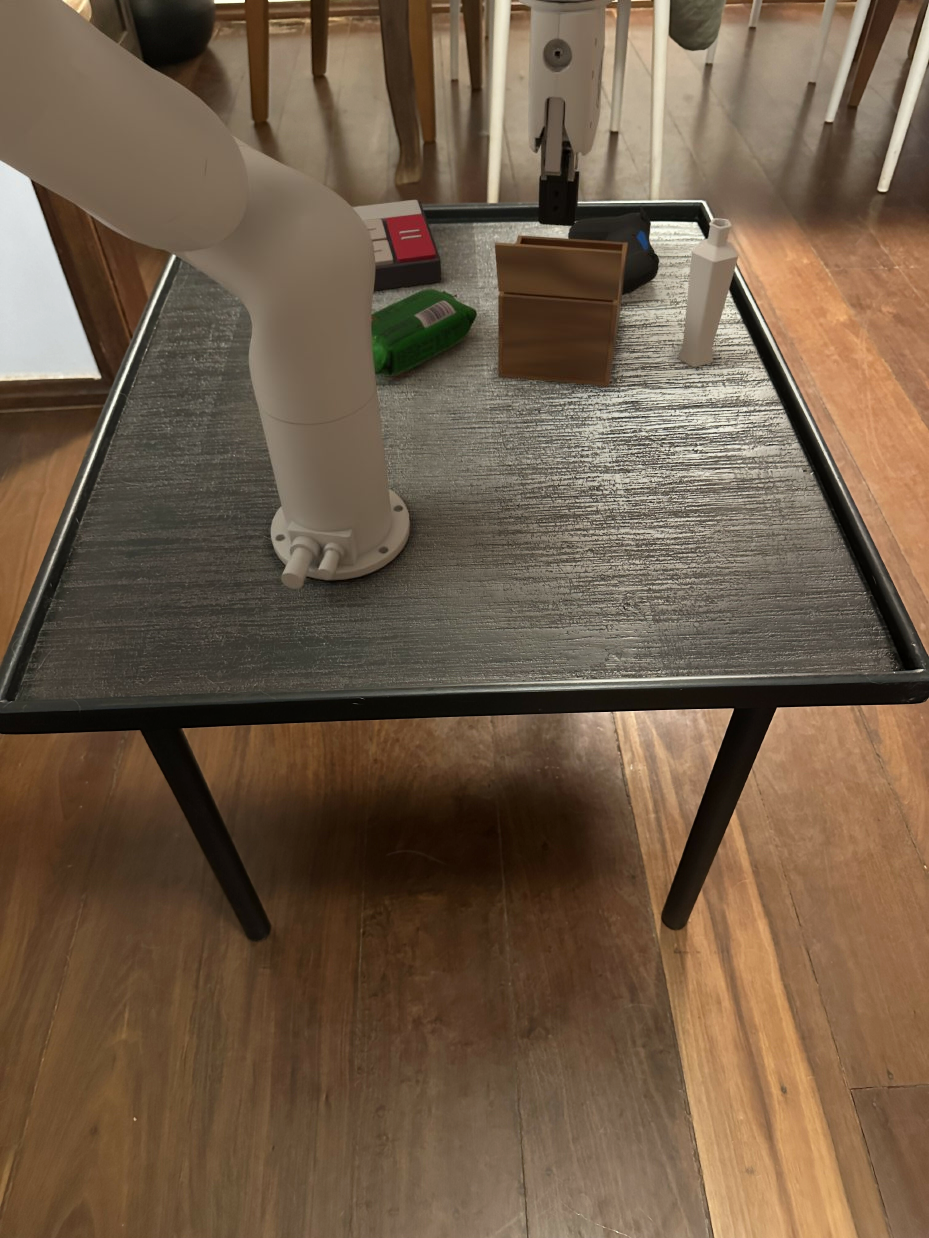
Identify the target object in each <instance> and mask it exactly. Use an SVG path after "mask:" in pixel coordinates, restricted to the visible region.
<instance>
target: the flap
mask: <svg viewBox="0 0 929 1238" xmlns="http://www.w3.org/2000/svg"><path fill="white" fill-rule="evenodd" d="M494 253H495V255H494V256H495V265H496V275H497V276H496V277H497V291H498V292H499V293H500V292H511V293H524V294H537V295H550V296H564V297H577V298H590V299H603V300H616V301H618V293H619V283H620V272H621V261H622V251H615V250H600V249H585V248H571V247H556V246H541V245H527V244H516V243H513V242H512V243H511V242H494Z"/></svg>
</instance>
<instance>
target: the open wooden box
mask: <svg viewBox="0 0 929 1238" xmlns="http://www.w3.org/2000/svg"><path fill="white" fill-rule="evenodd" d="M515 244H527V245H541V246H556V247H571V248H585V249H600V250H615V251H622V261H621V272H620V283H619V293H618V301H616V300H603V299H590V298H577V297H564V296H550V295H537V294H524V293H511V292H499V293H498V296H497V316H498V317H497V318H498V319H497V323H498V324H497V376H498V377H500V378H510V379H511V378H512V379H520V380H521V379H522V380H533V381H544V382H554V383H564V384H565V383H566V384H577V385H589V386H599V387H600V386H601V387H610V384H611V376H612V370H613V364H614V357H615V350H616V345H617V338H618V332H619V326H620V318H621V310H622V300H623V295H622V292H623V283H624V274H625V265H626V256H627V247H628V243H626V242H624V243H623V242H611V241H596V240H581V239H568V238H566V237H565V238H564V237H552V236H551V237H550V236H535V235H520V234H518V235H517V237H516V241H515Z"/></svg>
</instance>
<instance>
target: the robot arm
mask: <svg viewBox="0 0 929 1238" xmlns="http://www.w3.org/2000/svg"><path fill="white" fill-rule="evenodd" d="M517 1H518V2H519V3H520V4H522V5H524V6H527V7H529V8H530V23H529V41H528V42H529V51H528V52H529V54H528V57H529V58H528V62H529V63H528V105H527V107H528V109H527V110H528V145H529V149H530V150H531V151H532V152H533V153H535V154H538V152H539V150H540V175H539V179H538V209H537V210H538V213H537V214H538V215H537V220H538V221H537V222H538V223H539V224H540V225H542V226H543V225H544V226H557V227H558V226H561V227H571V226H573V225H574V224H575V222H576V221H577V220H576V219H577V215H578V206H579V205H578V204H579V190H580V189H579V188H580V173H581V172H580V171H579V170H578V168H579V156H580V153H581V156H582V157H583V156H587V155H588V154H589V153H590V152H591V150H592V148H593V145H594V141H595V138H596V134H597V129H598V126H599V121H600V115H601V109H602V107H601V106H602V83H603V82H602V79H603V64H604V63H603V62H604V48H605V47H604V45H605V24H606V6H608V5H610V4H612V3H613V2H614V1H616V0H517ZM0 162H2V163H4V164H5V165H7V166H9V167H11V168H12V169H14V170H16V171H17V172H19V173H20V174H22V175H24V176H25V177H27V178H28V179H30V180H32V181H33V182H35V183H37V184H39V185H40V186H42V187H44V188H46V189H47V190H49V191H51V192H53V193H55V194H56V195H58V196H59V197H62V198H64V199H65V200H67V201H69V202H71V203H73V204H74V205H75V206H77V207H79V208H80V209H82V210H83V211H84V212H86V213H87V214H88V215H90V216H91V217H93V218H94V219H95V220H97V221H98V222H100V223H101V224H102V225H104V226H106V227H107V228H109V229H110V230H112V231H114V232H115V233H117V234H119V235H121V236H123V237H125V238H127V239H129V240H131V241H133V242H136V243H139V244H142V245H145V246H147V247H149V248H153V249H158V250H163V251H166V252H167V253H170V254H172V255H174V256H175V257H177V258H178V259H180V260H182V261H184V262H185V263H187V264H189V265H190V266H192V267H193V268H194V269H196V270H198V271H200V272H201V273H203V274H204V275H206V276H207V277H209V278H210V279H211V280H213V281H215V282H216V283H217V284H219V286H221V287H222V288H223V289H225V290H226V292H228V293H230V294H231V295H232V296H234V297H235V298H237V299H238V300H239V301H240V302H241V303H242V304H243V306H244V307H245V308H246V310H247V312H248V314H249V316H250V321H251V336H250V342H249V349H248V367H249V375H250V380H251V385H252V388H253V393H254V398H255V401H256V404H257V408H258V412H259V413H258V414H259V417H260V421H261V425H262V429H263V433H264V438H265V442H266V446H267V451H268V456H269V458H270V459H269V460H270V463H271V467H272V472H273V476H274V480H275V484H276V489H277V492H278V497H279V502H280V505H281V506H280V507H279V508H278V509H277V510H276V511H275V514H274V517H273V518H272V520H271V525H270V540H271V544H272V546H273V550H274V552H275V554H276V556H277V557H278V559H279V560H280V561H281V562H282V563H283V564H284V565H285V567H284V569H283V572H282V574H281V575H280V580H281V581H280V582H281V583H282V584H283V585H284V586H285V587H287V588H289V589H292V590H299V589H301V588H302V587H303V586H304V583H305V581H306V579H307V577H308V578H312V579H316V580H324V581H339V580H343V581H344V580H349V579H350V580H351V579H354V578H355V579H356V578H359V577H362V576H366V575H368V574H371V573H374V572H376V571H378V570H380V569H381V568H383V567H385V566H386V565H388V564H389V563H390V562H392V561H394V559H395V558H396V557H397V556H398V555H399V554H400V553H401V552H402V551H403V549H404V548H405V546H406V544H407V543H408V539H409V537H410V531H411V522H410V513H409V510H408V508H407V505H406V503H405V502H404V501H403V499H402V498H401V497H400V496H399V495H398V494H397V493H396V492H395V491H394V490H392V489H390V488H389V480H388V479H389V478H388V471H387V461H386V454H385V445H384V437H383V428H382V419H381V412H380V410H381V409H380V403H379V401H380V400H379V393H378V392H379V391H378V386H377V385H378V384H377V378H376V374H375V369H374V359H373V349H372V332H371V315H372V314H373V301H374V300H373V299H374V291H375V290H374V282H375V253H374V246H373V242H372V239H371V236H370V234H369V232H368V229H367V227H366V225H365V224H364V222H363V220H362V219H361V217H360V216H359V215H358V213H357V212H356V211H355V210H354V209H353V208H352V207H353V206H351V205H350V204H349V203H348V201H347V200H346V199H344V198H343V197H342V196H340V194H338V193H337V192H335V191H334V190H332V189H330V188H329V187H328V186H327V185H324V184H322V183H321V182H319V181H317V180H316V179H314V178H312V177H310V176H308V175H306V174H304V173H302V172H300V171H298V170H297V169H295V168H293V167H291V166H289V165H287V164H284V163H282V162H280V161H278V160H277V159H274V158H272V157H270V156H269V155H267V154H265V153H263V152H262V151H259V150H257V149H255V148H254V147H252V146H250V145H249V144H247V143H245V141H242V140H240V139H239V138H237V137H236V136H235V135H233V134H232V133H231V132H230V130H229V128H228V127H227V126H226V125H225V123H224V122H223V121H222V120H221V118H220V117H219V115H218V114H217V113H216V112H215V111H214V110H212V108H211V107H210V106H209V105H207V104H206V103H205V101H203V100H202V99H201V98H200V97H199V96H198V95H196V94H195V93H193V92H192V91H191V90H189V89H188V88H186V87H185V86H184V85H182V84H181V83H179V82H178V81H176V80H174V79H172V78H171V77H169V76H168V75H166V74H164V73H162V72H160V71H159V70H156V69H154V68H152V67H151V66H150V65H148V64H147V63H145V62H144V61H142V60H141V59H140V58H138V56H136V55H134V54H133V53H132V52H130V51H128V50H127V49H126V48H124V47H123V46H122V45H120V44H119V43H117V42H116V41H114V40H113V39H112V38H110V37H109V36H108V35H106V34H105V33H104V32H102V31H101V30H99V28H97V27H96V26H95V25H93V23H91V22H90V21H89V20H88V19H86V18H85V17H84V16H83V15H81V14H80V12H78V11H77V10H76V9H75V8H73V7H72V6H70V5H69V4H68V3H67V2H65V1H64V0H0ZM577 170H578V171H577Z"/></svg>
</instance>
